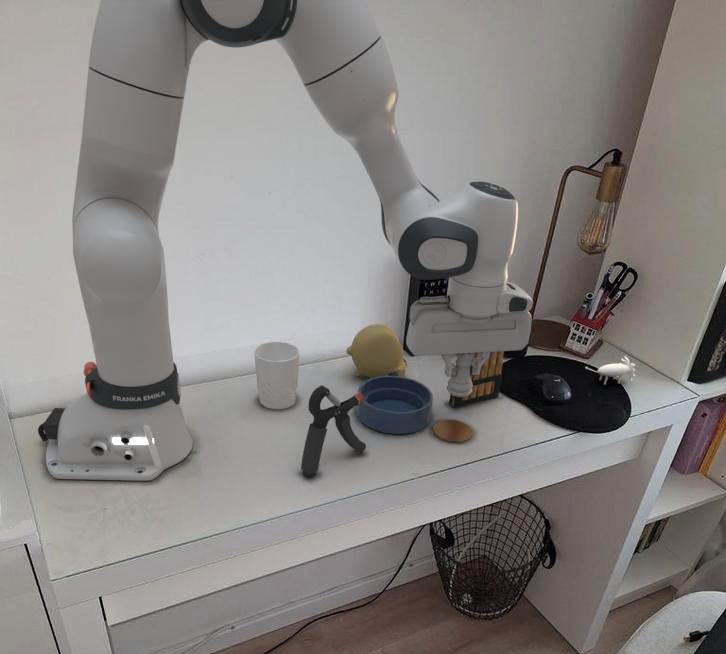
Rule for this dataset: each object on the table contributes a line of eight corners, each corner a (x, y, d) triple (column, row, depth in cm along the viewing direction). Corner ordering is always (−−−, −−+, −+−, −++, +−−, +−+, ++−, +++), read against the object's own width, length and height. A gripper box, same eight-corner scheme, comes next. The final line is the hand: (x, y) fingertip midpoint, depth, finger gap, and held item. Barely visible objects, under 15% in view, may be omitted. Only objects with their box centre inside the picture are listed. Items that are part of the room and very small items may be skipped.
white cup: (248, 404, 125) (245, 355, 119) (268, 386, 130) (267, 337, 124) (286, 415, 122) (286, 365, 116) (306, 396, 128) (306, 347, 122)
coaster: (440, 444, 118) (440, 442, 118) (427, 423, 124) (427, 421, 123) (477, 441, 120) (478, 439, 120) (463, 420, 125) (464, 418, 125)
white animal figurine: (623, 374, 144) (630, 353, 141) (638, 386, 140) (645, 365, 137) (573, 378, 141) (579, 357, 138) (586, 390, 137) (593, 369, 134)
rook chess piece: (470, 399, 115) (478, 356, 110) (444, 395, 115) (451, 352, 110) (472, 387, 118) (480, 344, 113) (447, 383, 119) (453, 341, 114)
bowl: (366, 438, 118) (368, 415, 116) (349, 399, 129) (350, 377, 126) (439, 432, 121) (443, 410, 119) (416, 394, 132) (419, 373, 129)
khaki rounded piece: (367, 402, 135) (408, 380, 128) (331, 352, 132) (371, 327, 125) (386, 379, 142) (425, 358, 136) (352, 331, 139) (391, 307, 132)
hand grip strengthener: (367, 453, 115) (374, 373, 106) (308, 480, 108) (309, 397, 99) (358, 447, 116) (364, 368, 107) (299, 473, 109) (300, 391, 100)
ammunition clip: (492, 392, 134) (504, 336, 127) (498, 397, 133) (510, 340, 126) (448, 403, 130) (457, 345, 122) (453, 408, 128) (463, 350, 121)
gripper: (418, 305, 102) (408, 387, 110) (542, 300, 106) (524, 379, 115) (405, 289, 106) (397, 369, 115) (525, 285, 111) (509, 362, 120)
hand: (461, 374), depth 115 cm, fingers closed on rook chess piece, 3 cm apart
